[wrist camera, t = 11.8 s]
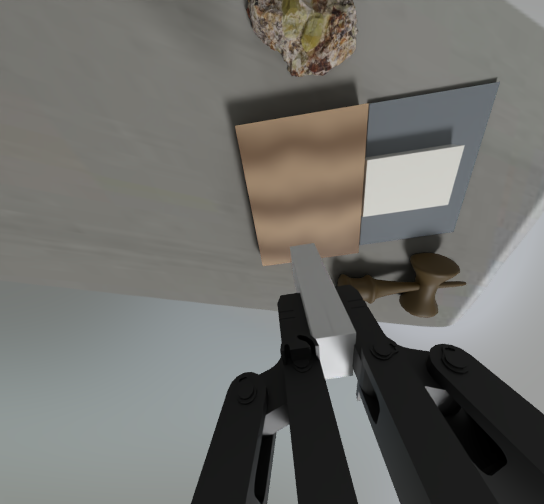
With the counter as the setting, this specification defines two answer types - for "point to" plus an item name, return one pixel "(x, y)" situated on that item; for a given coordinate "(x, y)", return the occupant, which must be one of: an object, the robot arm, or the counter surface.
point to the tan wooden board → (306, 181)
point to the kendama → (411, 284)
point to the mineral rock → (306, 32)
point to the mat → (425, 134)
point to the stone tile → (409, 179)
